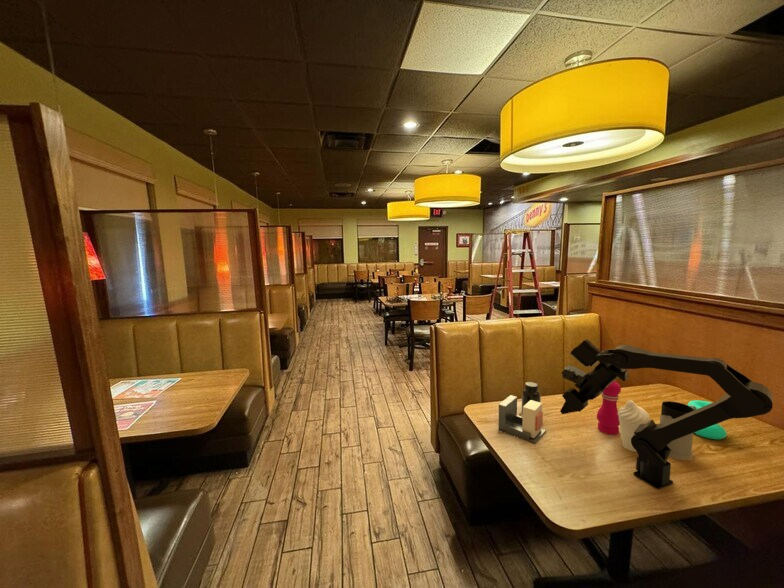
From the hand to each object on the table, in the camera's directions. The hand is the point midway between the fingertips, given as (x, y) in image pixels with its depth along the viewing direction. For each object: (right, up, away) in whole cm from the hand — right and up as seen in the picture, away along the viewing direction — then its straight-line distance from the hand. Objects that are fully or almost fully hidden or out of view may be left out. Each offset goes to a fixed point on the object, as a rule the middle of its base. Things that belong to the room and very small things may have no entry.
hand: (567, 408), depth 104 cm
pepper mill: (+19, -11, +9) cm, 24 cm away
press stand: (-11, -12, +9) cm, 19 cm away
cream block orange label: (-8, -11, +7) cm, 15 cm away
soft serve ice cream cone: (+20, -12, -2) cm, 23 cm away
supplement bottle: (-2, -10, +22) cm, 25 cm away
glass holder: (+34, -12, -3) cm, 36 cm away
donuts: (+51, -11, +5) cm, 52 cm away
